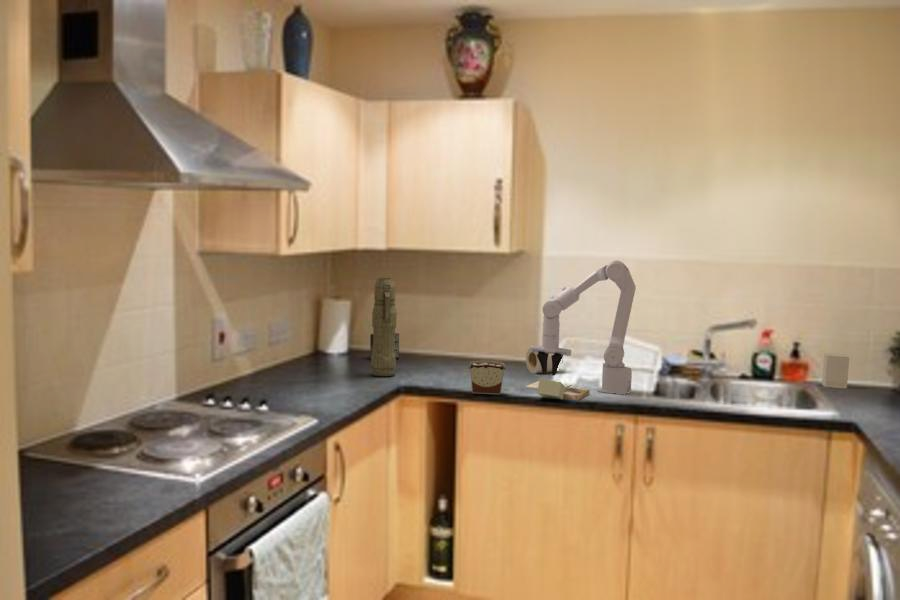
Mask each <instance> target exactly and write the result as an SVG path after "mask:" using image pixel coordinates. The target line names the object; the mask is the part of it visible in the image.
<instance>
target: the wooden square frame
mask: <svg viewBox="0 0 900 600" xmlns="http://www.w3.org/2000/svg"><path fill="white" fill-rule="evenodd" d="M572 393H573V394H572ZM588 395H590V389H585V388H577V387H571V386H568V387H565V390H564V395H563V400H564V399H567V400H571V401H572V400H573V401H580V400H581V399H583V398H584V397H586V396H588Z"/></svg>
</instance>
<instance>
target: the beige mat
mask: <svg viewBox="0 0 900 600" xmlns="http://www.w3.org/2000/svg"><path fill="white" fill-rule="evenodd" d="M538 385H539V380H537V381H535V382H533V383H530V384H528V385H526V386H525V390H533V391H538Z"/></svg>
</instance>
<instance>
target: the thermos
mask: <svg viewBox="0 0 900 600" xmlns="http://www.w3.org/2000/svg"><path fill="white" fill-rule="evenodd" d="M373 292H374V295H373V297H374V299H373V300H374V303H373V305H374V307H373V309H372V314H371V317H372V318H371V324H372V325H371V326H372V328H373V333H372V334H373V353H372V356H371V359H370V361H371V363H370V367H371V375H372V376H375V377H392V376H395V375H396V365H397V363H396V361H397V359H396V356H395V353H394V349H395V333H396V328H397V314H398V313H397V309H396V303H395V301H396V284H395V280H394V279H392V278H391V277H379V278H377V279H376V280H375V285H374V291H373Z"/></svg>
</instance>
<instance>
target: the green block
mask: <svg viewBox="0 0 900 600" xmlns="http://www.w3.org/2000/svg"><path fill="white" fill-rule="evenodd" d="M538 381H539V385H538V390H536V391H537V392H536V393H537V394H538V395H539V396H541V397H543V398H550V399H553V400H554V399H555V400H556V399H557V400H564V398H563V395H564V393H565V392H564V390H565V386H564V385H563V384H562V383H561V382H562V381H558V382H556V380H549V379H543V378H542V379H541V378H539V380H538Z"/></svg>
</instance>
